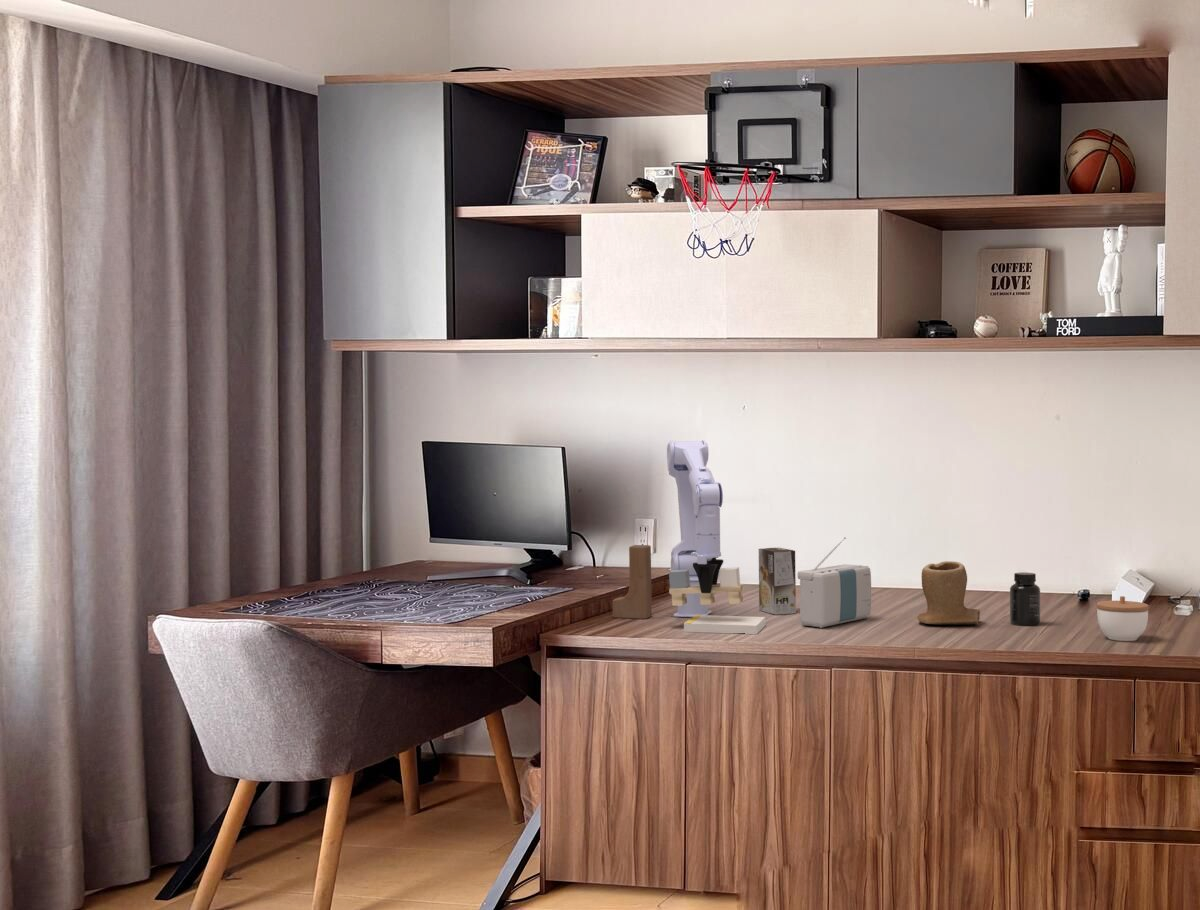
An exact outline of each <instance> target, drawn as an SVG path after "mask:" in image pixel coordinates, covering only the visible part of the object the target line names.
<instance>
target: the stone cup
mask: <svg viewBox="0 0 1200 910" xmlns="http://www.w3.org/2000/svg"><path fill="white" fill-rule="evenodd" d="M967 586H968V573H967V570H966V567H965V565H964V564H963V563H961V562H959V561H953V560H952V561H948V560H947V561H946V560H945V561H941V562H939V563H928V564H926V565H925V566H924V567H923V568H922V569H921V588H922V591H923V594H924V597H925V599H926V605H927V606H926V607H927V610H926V611H925V612H923V613H919V614H918V615H917V616H916V619H917V621H919V622H921V623H923V624H928V625H940V626H941V625H942V626H943V625H944V626H945V625H946V626H947V625H949V626H950V625H951V626H956V625H957V626H962V625H963V626H964V625H966V626H968V625H978V624H979V622H980V614H981V610H980V608H979V609H978V608H967V607H966V606H965V595H966V591H967Z"/></svg>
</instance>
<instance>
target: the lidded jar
mask: <svg viewBox="0 0 1200 910" xmlns="http://www.w3.org/2000/svg"><path fill="white" fill-rule="evenodd" d="M1149 607H1150V606H1149V604H1147V603H1144V602H1141V601H1132V600H1126V597H1125V596H1124V595H1123V596H1119V600H1103V601H1101V600H1100V601H1098V602H1096V611H1097V612H1096V614H1097V615H1096V616H1097V622H1098V626H1099V628H1100V630H1101V632H1102V633H1103V634H1104V635H1105V636H1106V637H1107V639H1108V640H1111V641H1116V642H1133V641H1134V642H1135V641H1137V640H1138V638H1140V636H1142V635H1143V634H1144V632H1145V630H1146V628H1147V625H1148V620H1149V619H1148V618H1149Z"/></svg>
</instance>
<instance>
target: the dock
mask: <svg viewBox="0 0 1200 910" xmlns="http://www.w3.org/2000/svg"><path fill="white" fill-rule="evenodd" d="M766 624H767V623H766V616H739V615H737V616H735V615H709V614H708V615H695V616H693V617H690V618H689V619H688V620H686V621H685V622H684V623H683V633H708V634H709V633H711V634H733V633H745V634H744V635H757V634H758V633H760V632H761V630H763V629H764V627H765V625H766Z"/></svg>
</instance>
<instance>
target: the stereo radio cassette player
mask: <svg viewBox="0 0 1200 910" xmlns="http://www.w3.org/2000/svg"><path fill="white" fill-rule="evenodd" d="M846 539H847V537H846V536H844V537H843V539H842V540H841V541H840V542H838V543H837V545H836V546H835V547H833V549H832V550H830V551H829V552H828V553H827V555H826V556H824V558H822V559H821V561H820V562H819V563H818V564H817V565H816V566H815V567H814V568H812V569H806V570H800V571H797V579H798V580H799V603H800V605H799V607H800V609H799V611H800V612H799V613H800V614H799V615H800V616H799V617H800V618H799V620H800V622H801V625H802V626H804V627H806V626H808V627H815V628H819V629H823V628H826V627H831V626H835V625H839V624H843V623H847V622H848V623H849V622H854V621H858V620H865V619H867V617H868V616H871V613H872V572H871V568H870V567H869V566H868V565H860V564H847V563H846V564H837V565H831V566H826V567H820V566H821V565H822V564H823V563H824V562H825V561H826V560H827V559H828V557H830V556H831V554H833V552H834V551H836V549H837V547H839V546H840V545H841V543H842V542H843V541H844V540H846Z"/></svg>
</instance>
